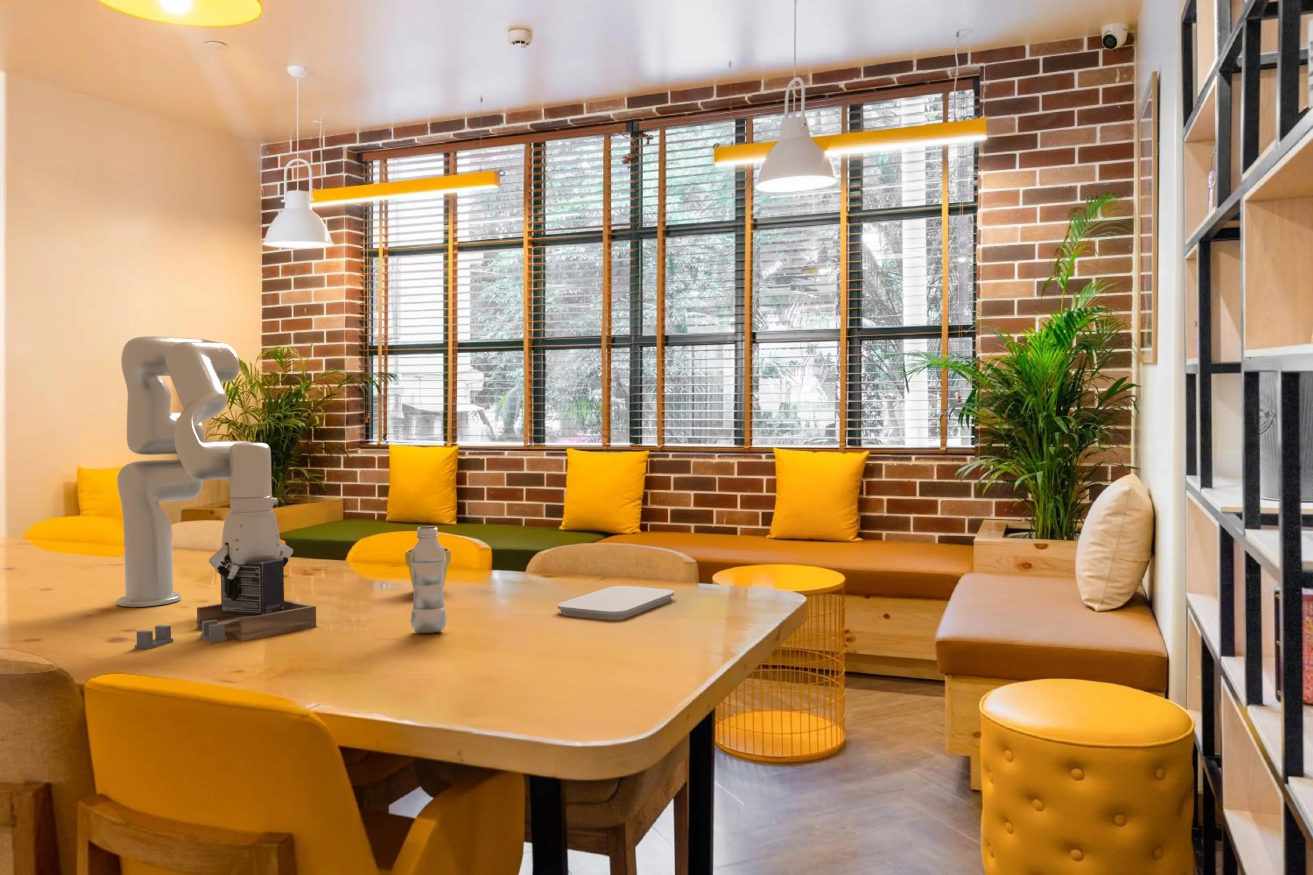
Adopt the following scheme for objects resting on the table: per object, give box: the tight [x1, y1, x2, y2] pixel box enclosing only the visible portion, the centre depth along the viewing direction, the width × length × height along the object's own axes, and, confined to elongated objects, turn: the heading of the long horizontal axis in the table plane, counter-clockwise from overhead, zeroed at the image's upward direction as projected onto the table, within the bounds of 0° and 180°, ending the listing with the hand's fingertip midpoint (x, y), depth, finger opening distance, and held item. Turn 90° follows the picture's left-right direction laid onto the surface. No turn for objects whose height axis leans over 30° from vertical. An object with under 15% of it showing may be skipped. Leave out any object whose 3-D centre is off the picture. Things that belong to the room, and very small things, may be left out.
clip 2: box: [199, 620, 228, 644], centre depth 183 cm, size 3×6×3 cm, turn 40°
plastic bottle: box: [410, 525, 448, 634], centre depth 186 cm, size 6×7×20 cm
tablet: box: [557, 585, 675, 621], centre depth 209 cm, size 16×26×2 cm, turn 152°
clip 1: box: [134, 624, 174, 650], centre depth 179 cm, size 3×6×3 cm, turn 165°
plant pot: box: [404, 546, 452, 590], centre depth 229 cm, size 10×10×10 cm
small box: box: [220, 559, 285, 616], centre depth 192 cm, size 11×6×10 cm, turn 70°
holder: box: [196, 598, 317, 642], centre depth 193 cm, size 18×15×4 cm
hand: (253, 594), depth 192 cm, fingers closed on small box, 7 cm apart
